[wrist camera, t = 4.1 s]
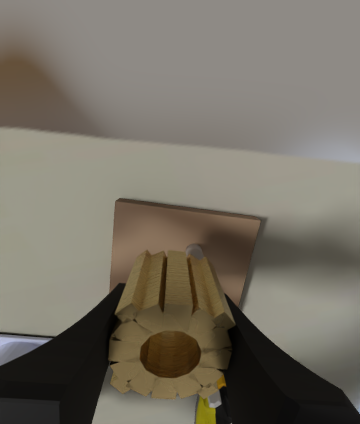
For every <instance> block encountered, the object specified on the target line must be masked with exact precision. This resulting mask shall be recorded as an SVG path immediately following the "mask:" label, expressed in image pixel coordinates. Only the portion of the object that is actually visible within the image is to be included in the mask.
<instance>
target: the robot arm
mask: <svg viewBox="0 0 360 424" xmlns="http://www.w3.org/2000/svg"><path fill="white" fill-rule="evenodd" d="M125 286H126V283H119V284H118V285H117V286H116V287H115V288H114V289H113V290H112V291H111V292H110V293H109V294H108V295H107V296H106V297H105V298H104V299H103V300H102V301H101V302H100V303H99V304H98V305H97V306H96V307H95V308H93V309H92V310H91V311H90V312H89V313H88V314H87V315H85V316H84V317H83V318H82V319H80V320H79V321H78V322H76V323H75V324H74V325H72V326H71V327H70V328H68V329H67V330H65V331H64V332H62V333H61V334H59V335H58V336H56V337H54V338H41V337H29V336H17V335H4V334H0V424H92V420H93V416H94V413H95V409H96V406H97V402H98V398H99V395H100V391H101V388H102V384H103V381H104V377H105V374H106V371H107V368H108V365H109V363H110V361H108V357H109V340H110V337H111V335H112V332H113V329H114V326H115V323H116V321H117V318H118V317H117V316H116V315H115V312H116V309H117V307H118V304H119V301H120V299H121V296H122V294H123V291H124V288H125ZM224 295H225V298H226V301H227V303H228V306H229V308H230V311H231V314H232V316H233V319H234V322H235V324H236V325H235V326H233V327H232V328H230V329H228V330H227V331H228V334H229V337H230V340H231V343H232V345H231V347H232V353H231V357H230V361H229V364H228V368H227V369H223V370H224V379H225V383H226V389H227V394H228V400H229V406H230V413H231V419H232V424H360V414H359V412H358V411H357V410H356V408H355V407H354V406H353V404H352V403H351V401H350V400H349V399H348V397H347V396H346V395H345V393H344V392H343V391H342V390H341V389H339V388H338V387H336V386H334V385H333V384H331V383H329V382H328V381H326V380H325V379H323V378H321V377H320V376H318V375H316V374H315V373H313V372H312V371H310V370H309V369H307V368H306V367H304V366H303V365H301V364H300V363H299V362H297V361H296V360H294V359H293V358H292V357H290V356H289V355H288V354H286V353H285V352H284V351H283V350H281V349H280V348H279V347H278V346H276V345H275V344H274V343H273V342H272V341H271V340H269V339H268V338H267V337H266V336H265V335H264V334H263V333H262V332H261V331H260V330H259V329H258V328H257V327H256V326H255V325H254V324H253V323H252V322H251V321H250V320H249V319H248V318H247V317H246V316H245V315H244V314H243V313H242V312H241V310H240V309H239V308H238V307H237V306H236V305H235V303H234V302H233V301H232V300H231V299H230V298H229V297H228V295H227V294H226V293H224Z"/></svg>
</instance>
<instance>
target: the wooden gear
mask: <svg viewBox="0 0 360 424" xmlns="http://www.w3.org/2000/svg"><path fill="white" fill-rule="evenodd" d="M115 315H116V316H117V317H118V318H117V321H116V323H115V326H114V329H113V332H112V335H111V337H110V340H109V357H108V361H111V363H110V367H111V368H112V370H113V371H114V372H113V375H112V379H111V382H110V384H111V385H112V386H113V387H115V388H116V389H117V390H118V391H120V392H121V393H122V394H124V393H125V392H127V391H129V390H130V389H132V390H134V391H136V392H138V393H140V394H142V395H144V396H147V395H148V394H149V393H150V392H151V391H152V396H151V398H159V399H176V393H177V392H178V394H179V396H180V398H181V399H182V398H185V397H188V396H191V395H194V394H197V393H198V394H199V395H200V396H201V397H202V398H203V399H205V398H206V397H208V396H210V395H212V394H214V393H215V392H217V391H218V386H217V380H218V379H219V378H220V377H222V376H223V375H224V370H223V369H227V368H228V364H229V361H230V357H231V353H232V347H231V345H232V343H231V340H230V337H229V334H228V331H227V330H228V329H230V328H232V327H233V326H235V325H236V324H235V322H234V319H233V316H232V314H231V311H230V308H229V306H228V303H227V301H226V298H225V295H224V293H223V290H222V287H221V285H220V282H219V280H218V277H217V274H216V272H215V269H214V266H213V265H212V263H211V262H210V261H209V260H208V258H207V257H206V256H205V257H204V258H202V259H201V260H198V259H197V258H195V257H194V256H193V255H191V254H190V253H189V255H188V256H187V257H186V252H182V251H173V250H168V255H167V256H166V254H165V252H164V251H161V252H159V253H156V254H153V255H151V254H150V252H149V251H148V250H146V251H144V252H143V253H141V254H140V255H139V256H137V257H136V260H135V263H134V265H133V268H132V270H131V273H130V275H129V278H128V281H127V283H126V286H125V288H124V291H123V294H122V296H121V299H120V301H119V304H118V307H117V309H116V312H115Z"/></svg>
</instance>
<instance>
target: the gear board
mask: <svg viewBox="0 0 360 424" xmlns="http://www.w3.org/2000/svg"><path fill="white" fill-rule="evenodd" d="M260 222H261V221H260V220H259V219H257V218H256V217H254V216H247V215H239V214H232V213H225V212H217V211H210V210H203V209H195V208H188V207H180V206H173V205H166V204H158V203H151V202H143V201H136V200H129V199H121V198H119V199H118V200H116V201H115V212H114V227H113V243H112V259H111V275H110V290H109V293H110V292H111V291H112V290H113V289H114V288H115V287H116V286H117V285H118V284H119V283H127V281H128V278H129V275H130V273H131V270H132V268H133V265H134V263H135V260H136V257H137V256H139V255H140V254H141V253H143V252H144V251H146V250H148V251H149V252H150V254H151V255H153V254H156V253H159V252H161V251H164V252H165V254H166V256H167V255H168V250H173V251H182V252H186V257H187V256H188V255H189V253H190V254H191V255H193V256H194V257H195V258H197V259H198V260H201V259H202V258H204V257H205V256H206V257H207V258H208V260H209V261H210V262H211V263H212V265H213V266H214V269H215V272H216V274H217V277H218V280H219V282H220V285H221V287H222V290H223V293H226V294H227V295H228V297H229V298H230V299H231V300H232V301H233V302H234V303H235V305H236V306H237V307H238V306H239V302H240V298H241V294H242V290H243V287H244V283H245V279H246V275H247V271H248V268H249V264H250V260H251V256H252V253H253V249H254V245H255V241H256V237H257V234H258V230H259V226H260Z"/></svg>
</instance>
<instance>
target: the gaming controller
mask: <svg viewBox="0 0 360 424" xmlns="http://www.w3.org/2000/svg"><path fill="white" fill-rule="evenodd" d="M217 386H218V391H217V392H215V393H214V394H212V395H210V396H208V397H206V398H205V399H203V398H202V397H201V396H200V395H199V394H198V398H197V402H196V409H195V422H194V424H230V423H232V419H231V413H230V406H229V400H228V394H227V389H226V383H225V379H224V375H223V376H222V377H220V378H219V379H218V380H217Z"/></svg>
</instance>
